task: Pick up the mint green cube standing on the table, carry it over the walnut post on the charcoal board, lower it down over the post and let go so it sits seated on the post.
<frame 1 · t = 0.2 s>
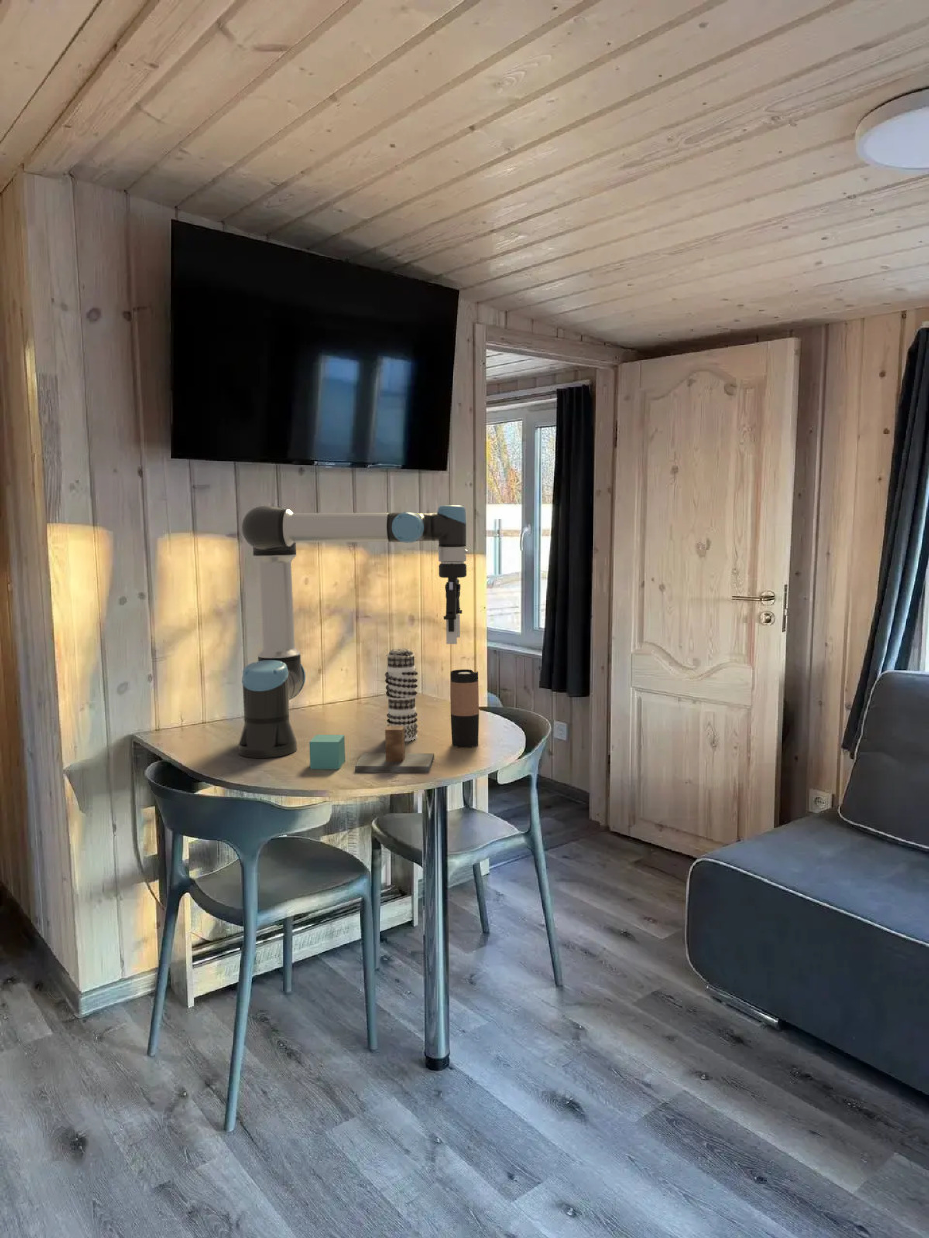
hand: (453, 640, 235), 28 cm above the table, tool pointing down, fingers open, 13 cm apart
post stand: (395, 765, 213), on the table
travel mug: (465, 745, 233), on the table
decorative candle: (402, 738, 241), on the table
mint green cube: (327, 764, 214), on the table
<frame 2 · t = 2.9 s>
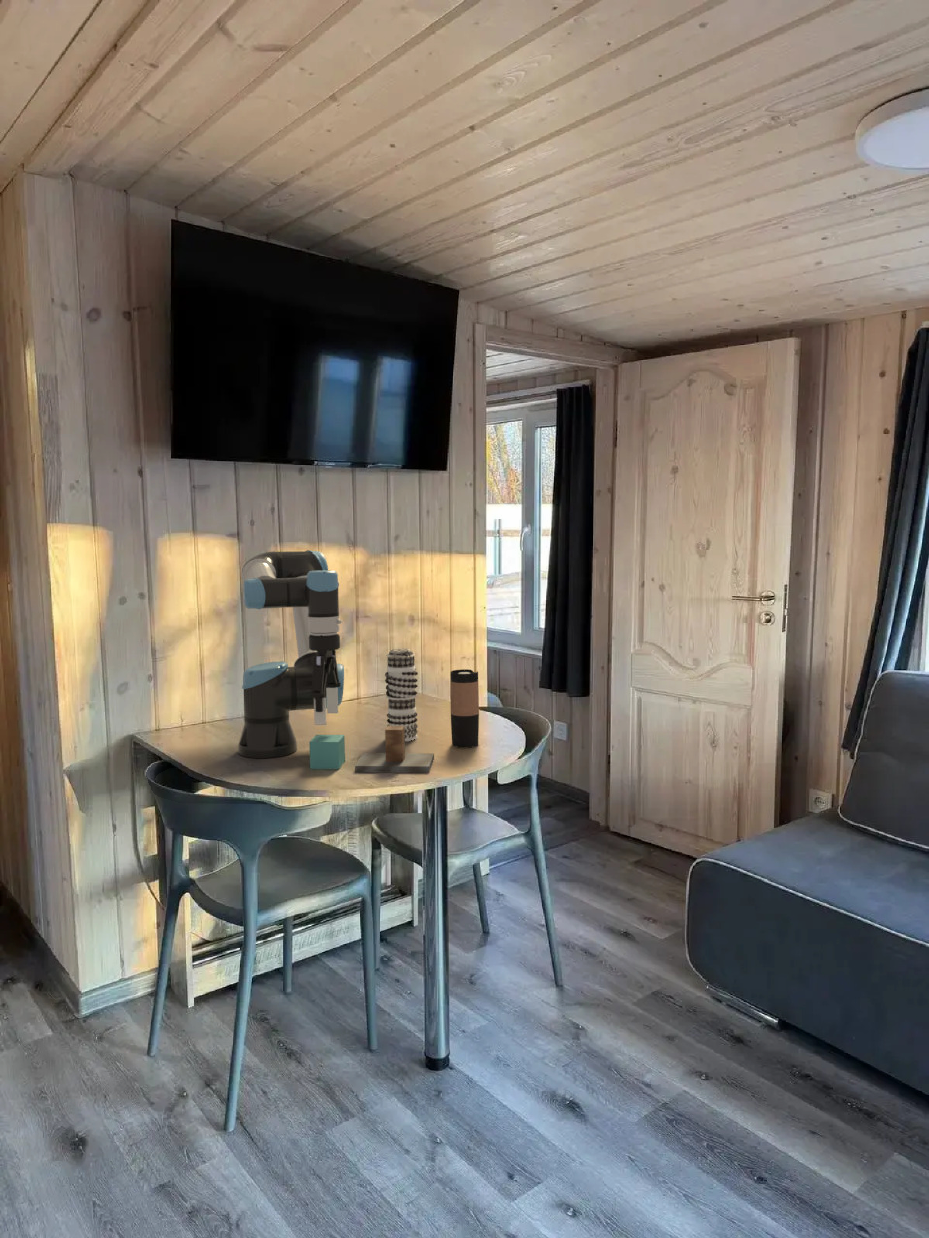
hand: (326, 718, 213), 12 cm above the table, tool pointing down, fingers open, 13 cm apart
nothing on the table moved.
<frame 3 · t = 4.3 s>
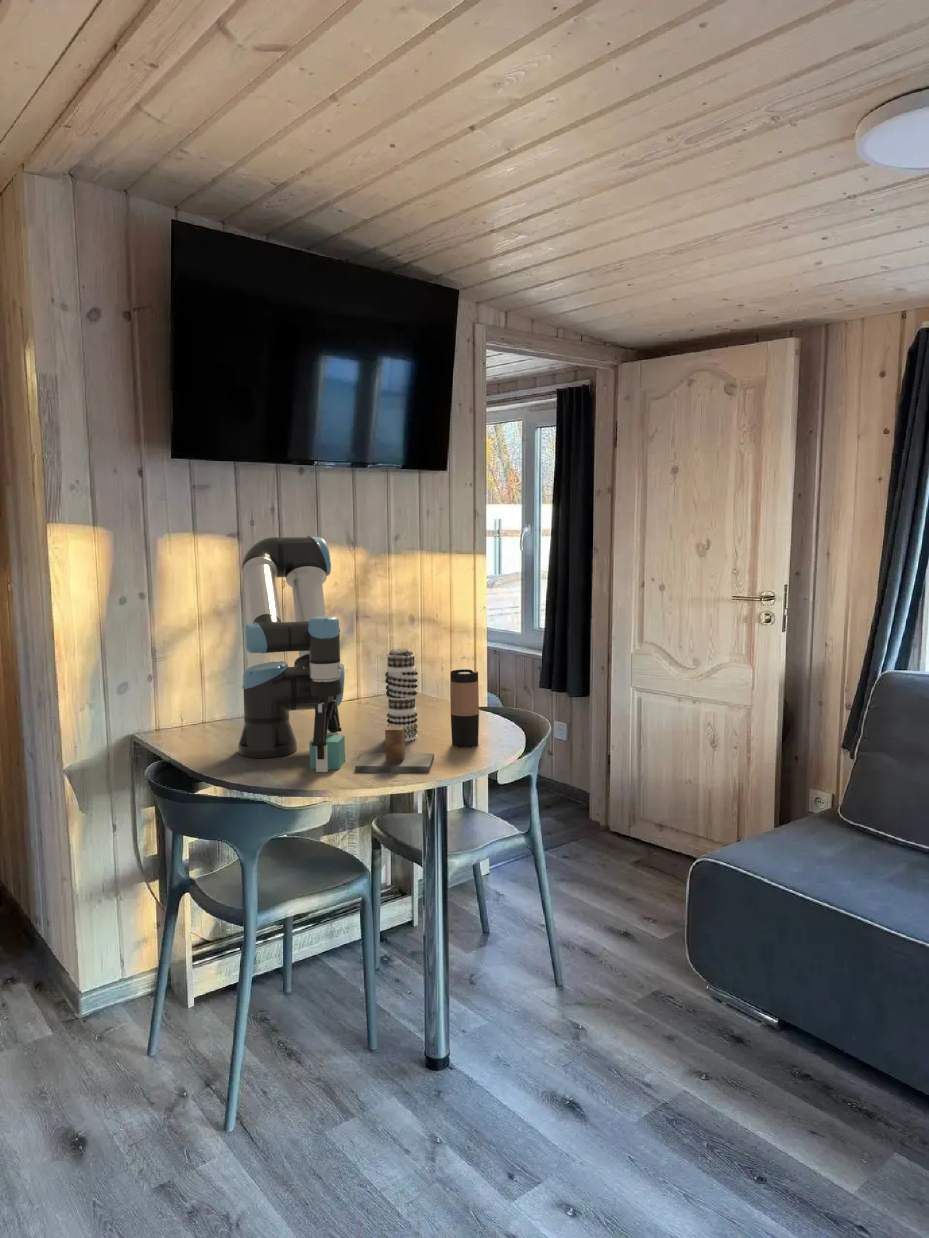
hand: (327, 764, 214), 0 cm above the table, tool pointing down, fingers open, 12 cm apart
nothing on the table moved.
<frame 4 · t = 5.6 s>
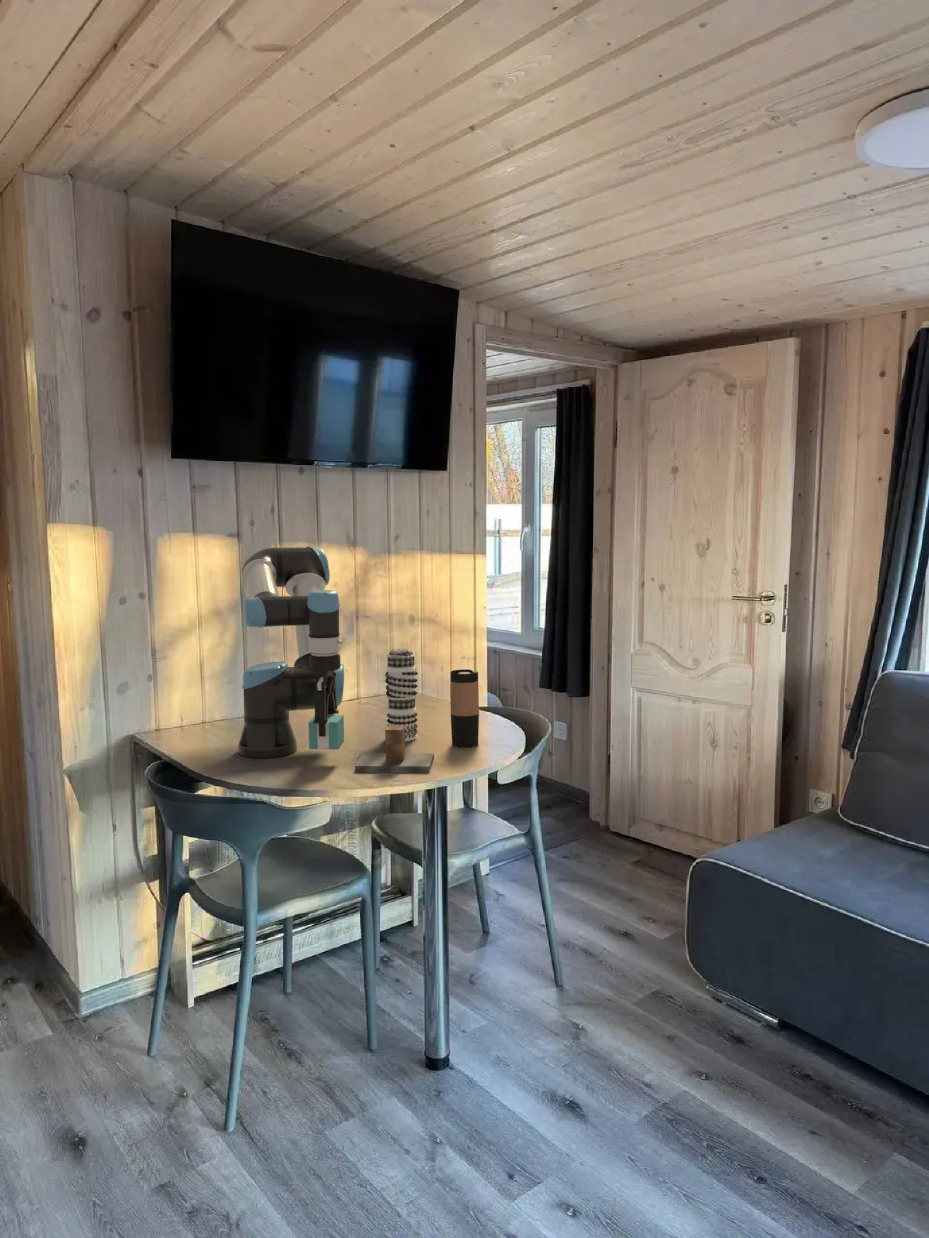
hand: (327, 743, 214), 5 cm above the table, tool pointing down, fingers closed on mint green cube, 7 cm apart
mint green cube: (327, 745, 214), point 5 cm above the table, touching gripper
everything else where it was.
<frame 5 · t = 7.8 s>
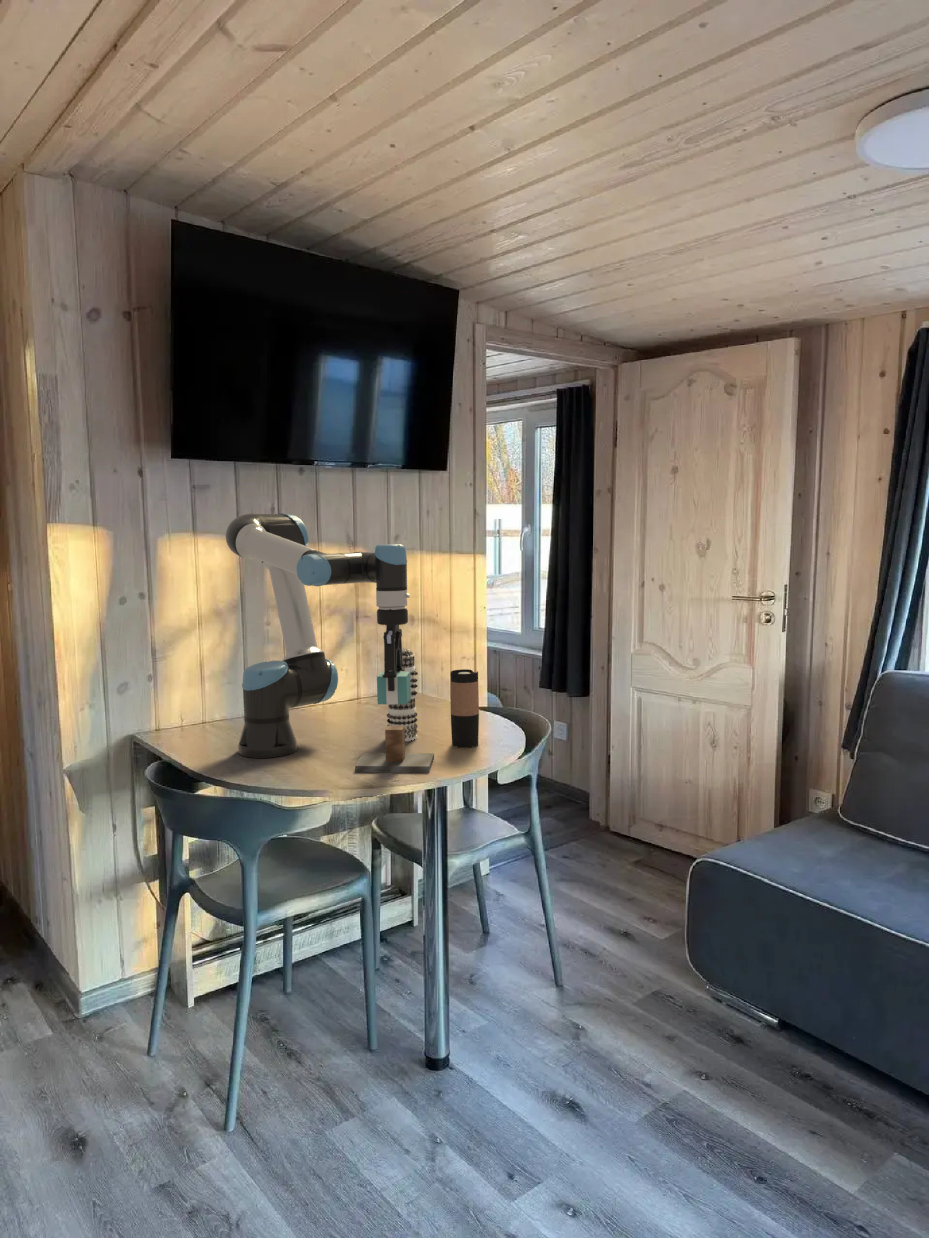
hand: (394, 700, 211), 16 cm above the table, tool pointing down, fingers closed on mint green cube, 7 cm apart
mint green cube: (394, 701, 211), point 16 cm above the table, touching gripper
everything else where it was.
when the fingers open (3 cm above the table, at t = 10.1 s): mint green cube stays where it is, resting on post stand.
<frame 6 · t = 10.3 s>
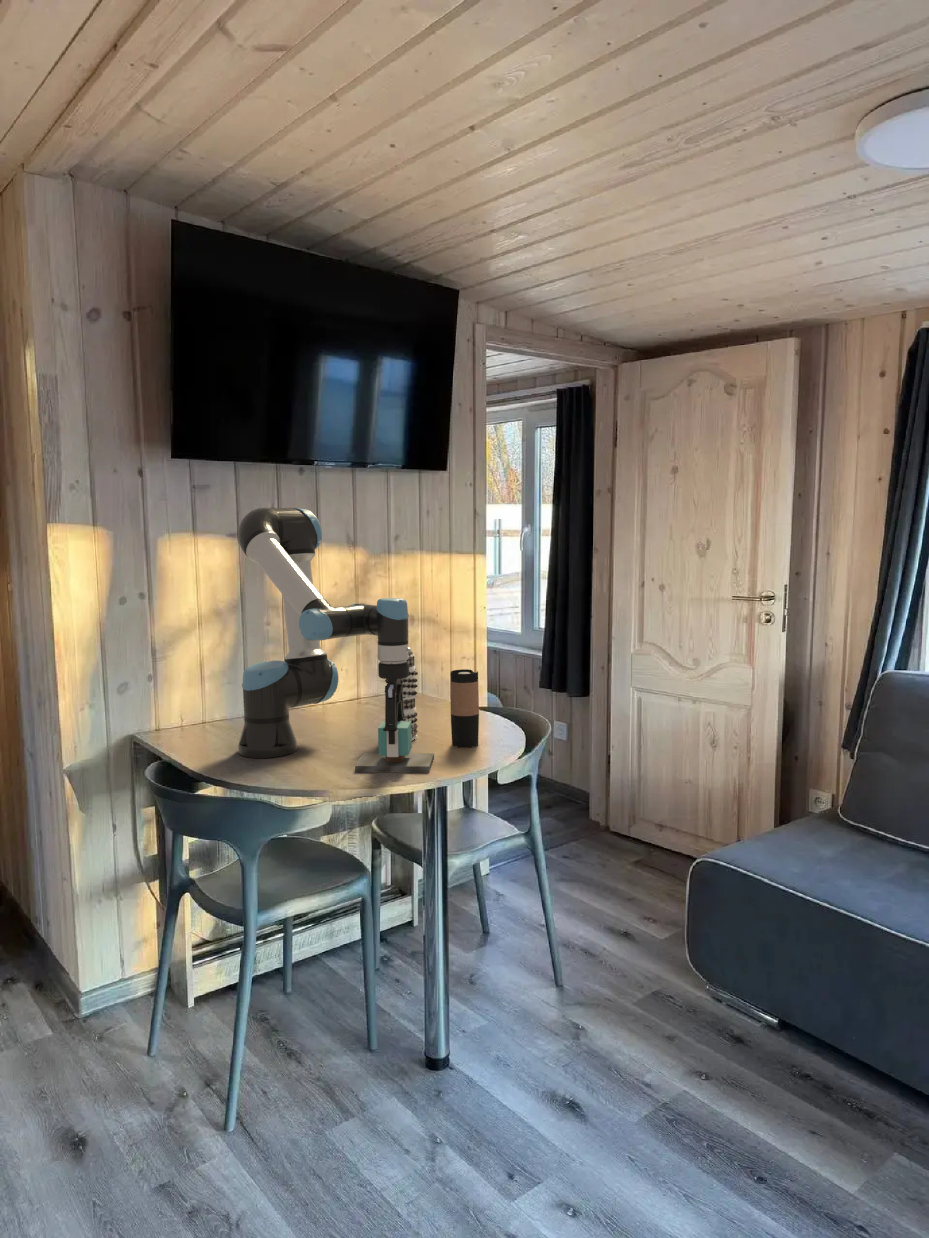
hand: (395, 751, 213), 3 cm above the table, tool pointing down, fingers open, 8 cm apart
mint green cube: (395, 751, 213), point 3 cm above the table, touching post stand
everything else where it was.
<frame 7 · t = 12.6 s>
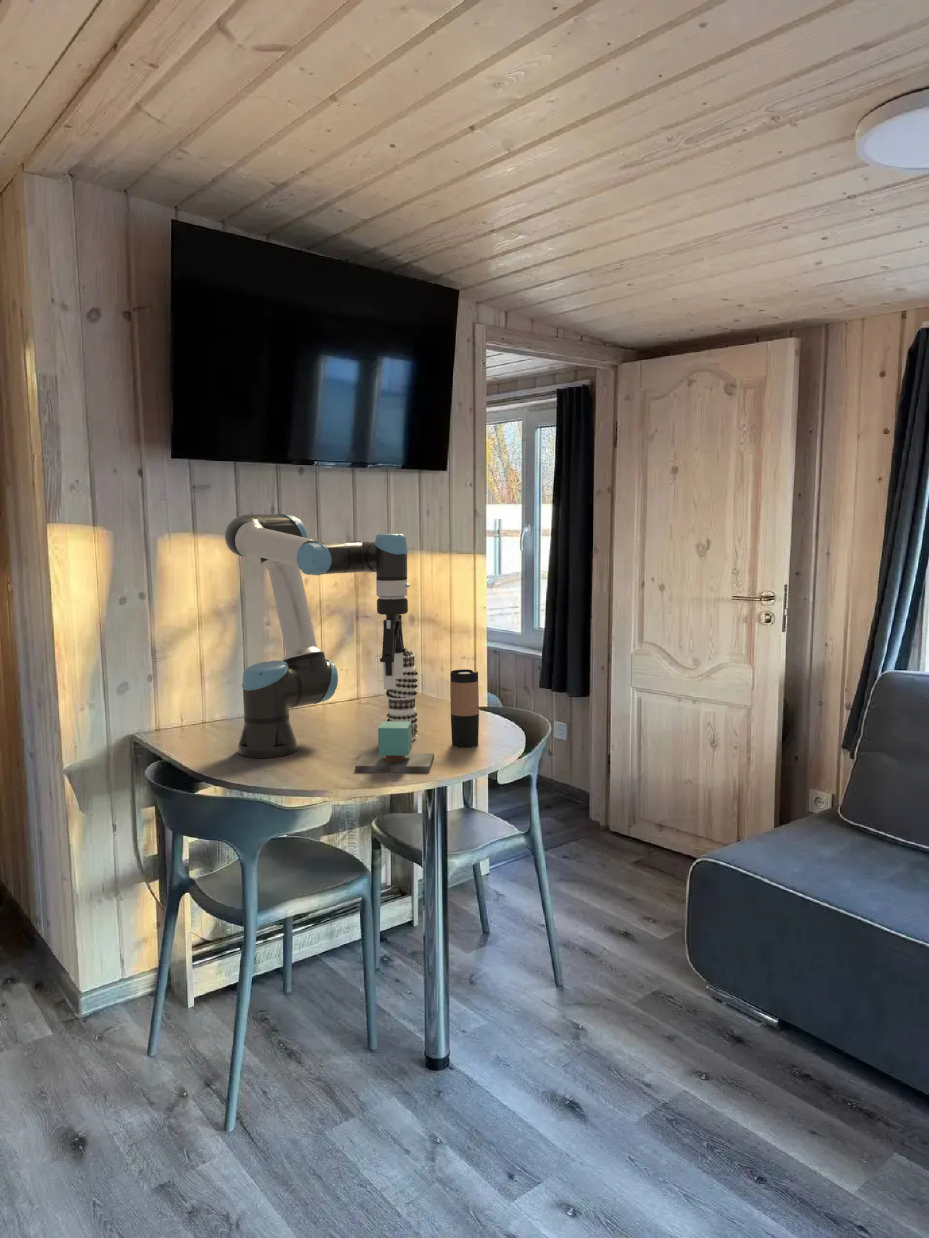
hand: (393, 683, 211), 21 cm above the table, tool pointing down, fingers open, 13 cm apart
nothing on the table moved.
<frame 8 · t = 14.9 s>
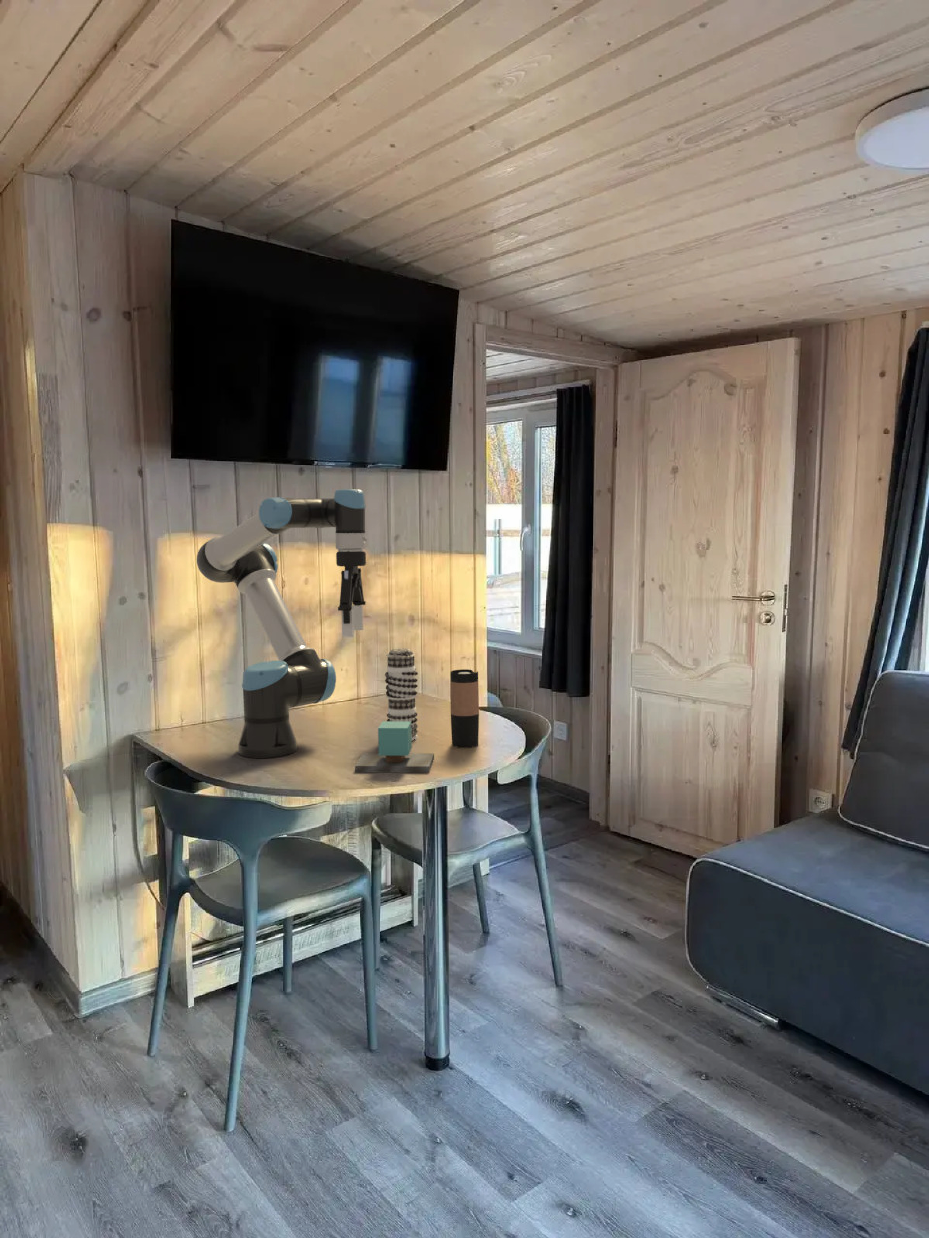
hand: (353, 633, 222), 32 cm above the table, tool pointing down, fingers open, 13 cm apart
nothing on the table moved.
at the end: mint green cube 0.0 cm off-centre on the post stand, point 3.5 cm above the post stand's base; mint green cube tilted 0°; the gripper is holding nothing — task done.
